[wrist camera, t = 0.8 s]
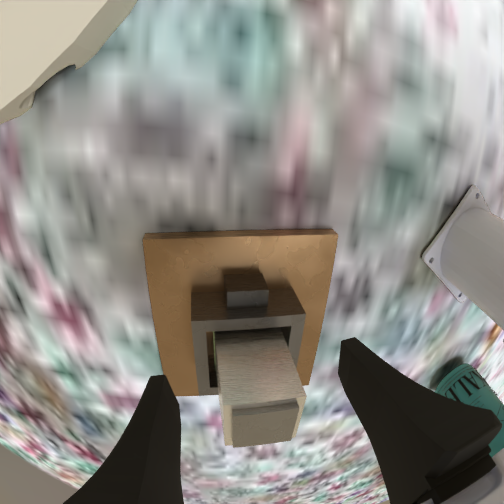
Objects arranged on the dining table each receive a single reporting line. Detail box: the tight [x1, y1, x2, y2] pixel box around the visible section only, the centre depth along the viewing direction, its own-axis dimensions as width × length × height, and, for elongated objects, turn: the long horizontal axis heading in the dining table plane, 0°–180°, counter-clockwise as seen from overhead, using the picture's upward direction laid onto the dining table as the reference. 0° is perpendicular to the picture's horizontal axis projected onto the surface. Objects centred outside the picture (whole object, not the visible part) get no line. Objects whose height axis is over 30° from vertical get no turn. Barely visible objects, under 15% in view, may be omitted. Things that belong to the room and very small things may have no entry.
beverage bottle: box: [435, 364, 504, 457], centre depth 23 cm, size 6×7×20 cm
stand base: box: [143, 229, 338, 396], centre depth 21 cm, size 14×12×4 cm
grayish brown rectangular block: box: [213, 327, 306, 448], centre depth 18 cm, size 4×4×8 cm
